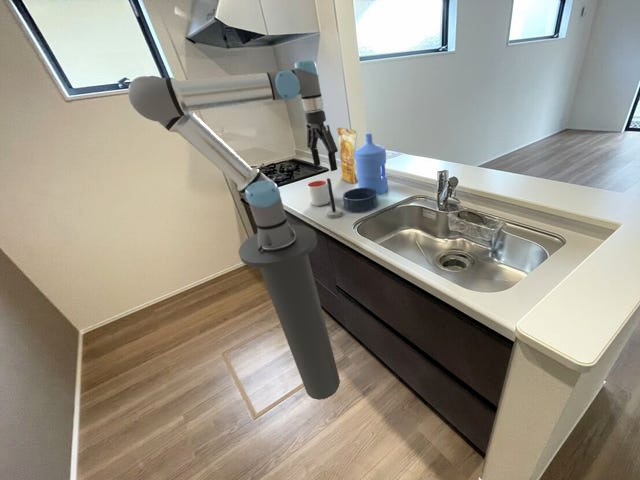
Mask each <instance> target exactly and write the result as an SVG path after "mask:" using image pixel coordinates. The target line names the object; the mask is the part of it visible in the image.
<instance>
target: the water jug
mask: <svg viewBox="0 0 640 480" xmlns="http://www.w3.org/2000/svg"><path fill="white" fill-rule="evenodd" d="M372 135H373V134H372V133H366V134H365V143H364V145H362V146H360V147H359V148H356V149H355V166H356V176H357V183H358V188H373V189H375V190H377V194H378V196H379V195H382V194H384V193H386V192H387V191H388V190H389V184H388V176H387V175H388V174H386V164H387V152H386V148H385V147H384V146H382V145H379V144H377V143H374V142H373V136H372Z"/></svg>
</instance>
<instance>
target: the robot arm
mask: <svg viewBox="0 0 640 480" xmlns="http://www.w3.org/2000/svg"><path fill="white" fill-rule="evenodd" d="M127 95H128V99H129V102H130V104H131V106H132V107H133V109H134V111H136V112H137V113H138V114H139V115H141V116H142V117H144V118H145V119H147V120H150V121H152V122H158V123H159V124H160V125H161V126H162V127H163V128H164V129H166V130H167V131H168V132H170V133H177V134H178V135H180V136H181V137H182V138H183V139H184V140H185V141H187V142H188V144H190V146H192V147H194V149H196V150H197V151H198V152H199V153H200V154H201V155H202V156H203V157H205V158H206V159H207V160H208V161H210V162H211V163H212V165H214V166H215V167H216V168H218V169H219V170H220V171H221V172H222V173H223V174H224V175H226V176H227V177H228V179H230V180H231V181H232V182H233V183H235V184H236V189H237V191H238V192H239V193H241V195H243V196H244V197H245V198H246V201H247V203H248V205H249V207H250V211H251V214H252V217H253V219H254V222H255V225H256V228H257V233H258V245H259V249H258V251H259V252H260V251H261V250H263V251H267V252H274V251H280V250H283V249H286V248H288V247H290V246H292V245H293V244H294V243H295V242H296V240H297V237H296V234H295V231H294V229H292V227H291V226H290V225H291V224H290V222H289V221H288V219H287V215H286V210H285V207H284V204H283V201H282V200H283V199H282V196H281V191H280V189H279V187H278V185H277V183H275V182H274V180H272V178H270V177H268V176H266V175H265V174H264V172H262V171H261V170H260V169H259V168H253V167H251V166H250V165H249V164H248V163H247V162H246V161H245V160H244V159H243V158H242V157H241V156H239V154H238V153H236V152H235V151H234V150H233V148H231V147H230V146H229V145H228V144H227V143H226V142H225V141H224V140H223V139H222V138H221V137H220V136H218V135H217V134H216V133H215V132H214V131H213V130H212V129H211V128H210V127H209V126H207V124H206V123H204V121H202V119H200V118H199V117H198V115H196V114H195V113H196V112H195V111H199V110H207V109H216V108H217V109H218V108H223V107H231V106H239V105H240V106H241V105H247V104H254V103H255V104H256V103H264V102H272V101H281V100H294V99H295V98H296V97H297V96H298V95H300V98H301V102H302V103H301V104H302V107H303V111H304V112H305V113H304V117H305V121H306V125H305V126H306V141H307V142H306V147H307V148H308V149H309V150H310V151H311V157H312V162H313V165H314V167H318V166H322V165H321V159H320V155H319V149H318V146H317V145H318V141H319V140H321V141H322V143H323V145H324V147H325V149H326V151H327V157H328V163H329V168H330V169H329V170H330V172H334V171H338V164H337V159H336V158H337V157H336V153H337V152H339V150H338V147H337V145H336V142H335V140H334V137H333V135H332V132H331V129H330V125H329V124H326V125H325V124H324V123H325V122H326V121H327V117H326V112H325V110H324V108H325V106H324V100H323V97H322V91H321V85H320V78H319V72H318V68H317V64H316V62H315V60H312V59H309V60H302V61H295V63H294V69H290V70H289V69H282V70H277V71H268V72H267V71H266V72H257V73H246V74H236V75H226V76H225V75H224V76H217V77H207V78H195V79H186V80H178V79H175V78H174V77H160V76H156V75H149V76H146V75H143V76H138V77H135V78H134V79H132V81H130V83H129V85H128V87H127Z"/></svg>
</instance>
